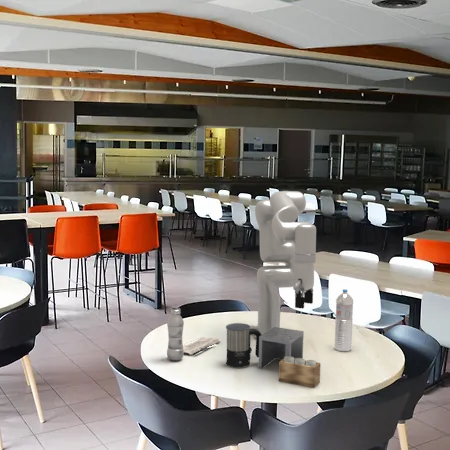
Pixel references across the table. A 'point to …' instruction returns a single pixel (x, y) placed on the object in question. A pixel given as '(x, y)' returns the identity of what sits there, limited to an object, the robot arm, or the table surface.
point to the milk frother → (240, 344)
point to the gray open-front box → (280, 345)
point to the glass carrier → (299, 371)
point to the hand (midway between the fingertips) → (304, 305)
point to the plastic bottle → (175, 335)
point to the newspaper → (199, 345)
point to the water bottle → (343, 322)
